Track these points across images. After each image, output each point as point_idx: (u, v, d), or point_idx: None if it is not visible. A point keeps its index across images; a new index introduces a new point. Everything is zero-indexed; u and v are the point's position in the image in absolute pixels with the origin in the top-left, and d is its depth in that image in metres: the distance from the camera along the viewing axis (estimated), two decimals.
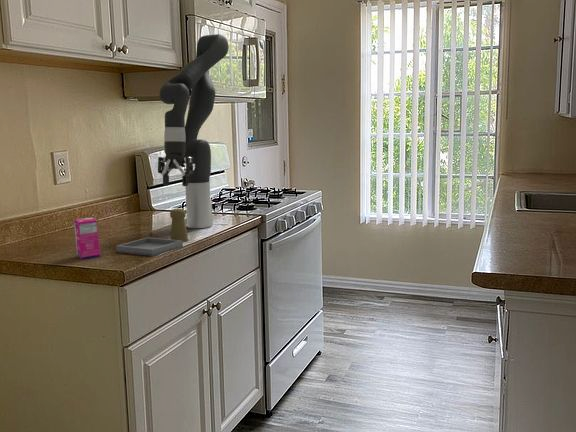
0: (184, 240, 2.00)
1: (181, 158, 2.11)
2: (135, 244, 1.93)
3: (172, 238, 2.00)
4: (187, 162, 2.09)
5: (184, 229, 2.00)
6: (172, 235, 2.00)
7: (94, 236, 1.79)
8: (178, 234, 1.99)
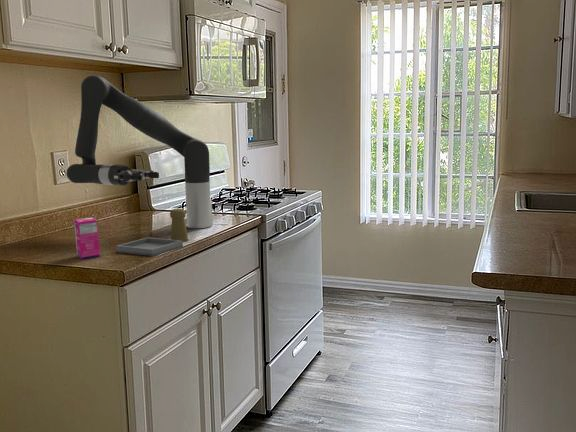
0: (184, 240, 2.00)
1: None
2: (135, 244, 1.93)
3: (172, 238, 2.00)
4: (118, 180, 2.03)
5: (184, 229, 2.00)
6: (172, 235, 2.00)
7: (94, 236, 1.79)
8: (178, 234, 1.99)
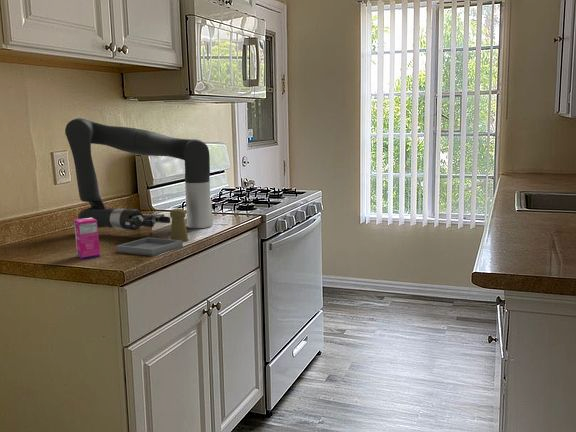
0: (184, 240, 2.00)
1: None
2: (135, 244, 1.93)
3: (172, 238, 2.00)
4: (130, 226, 2.03)
5: (184, 229, 2.00)
6: (172, 235, 2.00)
7: (94, 236, 1.79)
8: (178, 234, 1.99)
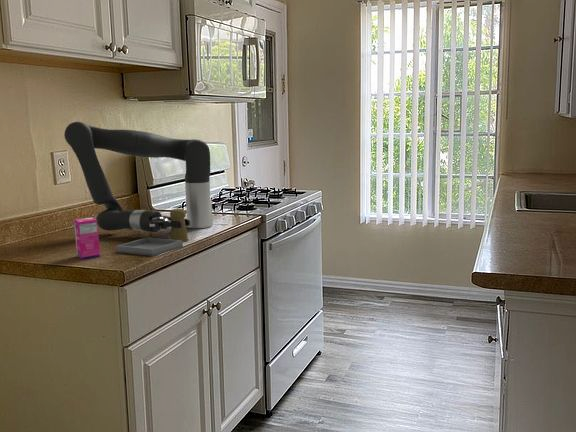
0: (184, 240, 2.00)
1: None
2: (135, 244, 1.93)
3: (172, 238, 2.00)
4: (155, 228, 1.99)
5: (184, 229, 2.00)
6: (172, 235, 2.00)
7: (94, 236, 1.79)
8: (178, 234, 1.99)
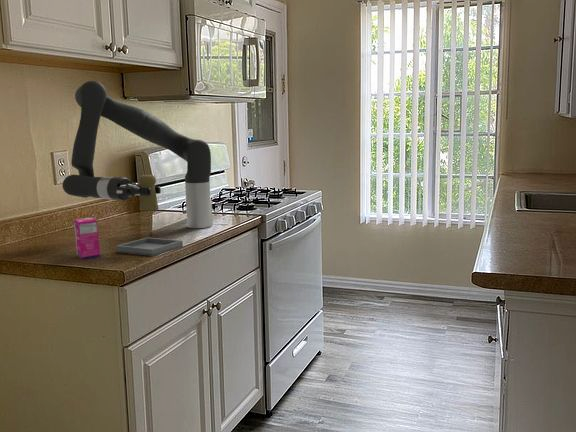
0: (154, 208, 1.86)
1: None
2: (135, 244, 1.93)
3: (141, 206, 1.86)
4: (122, 195, 1.85)
5: (154, 197, 1.87)
6: (141, 203, 1.86)
7: (94, 236, 1.79)
8: (147, 202, 1.86)
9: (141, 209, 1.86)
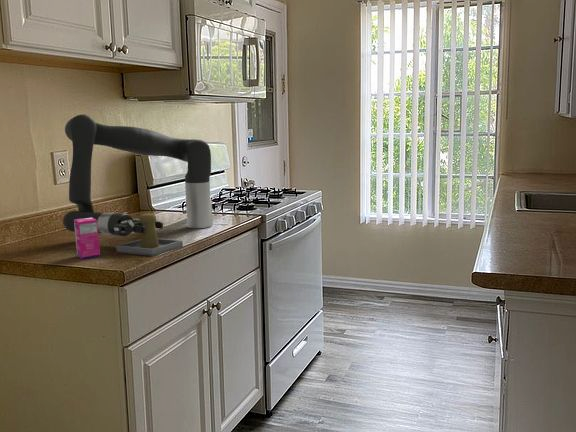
0: (154, 247, 1.87)
1: None
2: (135, 244, 1.93)
3: (142, 245, 1.87)
4: (119, 232, 1.86)
5: (154, 236, 1.88)
6: (142, 242, 1.87)
7: (94, 236, 1.79)
8: (148, 241, 1.86)
9: None
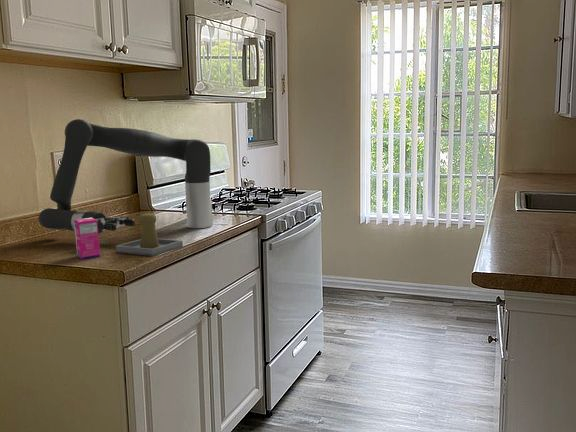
0: (154, 247, 1.87)
1: None
2: (135, 244, 1.93)
3: (142, 245, 1.87)
4: None
5: (154, 236, 1.88)
6: (142, 242, 1.87)
7: (94, 236, 1.79)
8: (148, 241, 1.86)
9: None
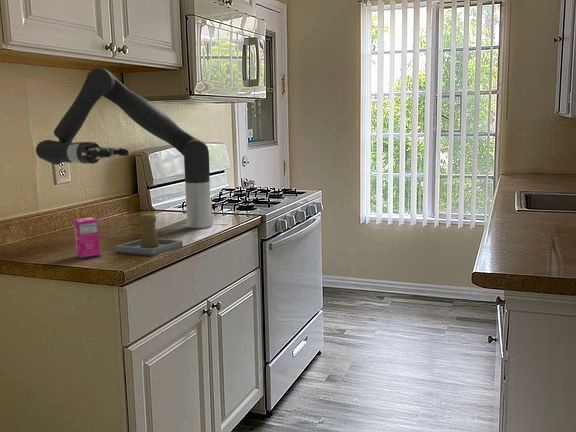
0: (154, 247, 1.87)
1: None
2: (135, 244, 1.93)
3: (142, 245, 1.87)
4: (86, 157, 1.99)
5: (154, 236, 1.88)
6: (142, 242, 1.87)
7: (94, 236, 1.79)
8: (148, 241, 1.86)
9: None
